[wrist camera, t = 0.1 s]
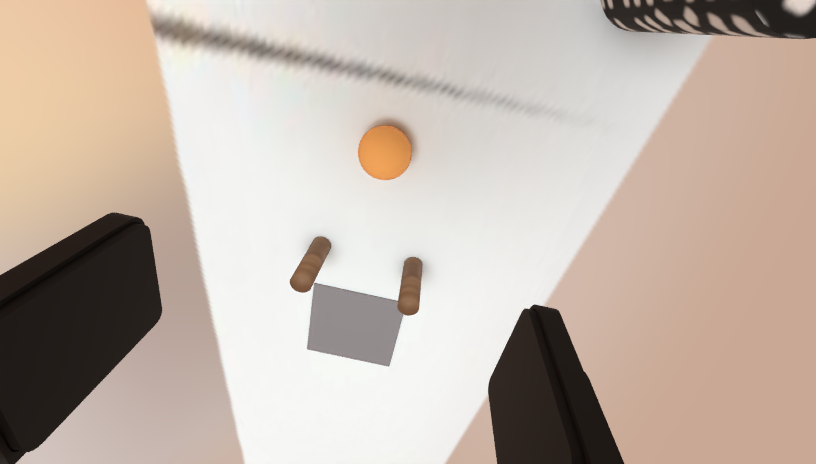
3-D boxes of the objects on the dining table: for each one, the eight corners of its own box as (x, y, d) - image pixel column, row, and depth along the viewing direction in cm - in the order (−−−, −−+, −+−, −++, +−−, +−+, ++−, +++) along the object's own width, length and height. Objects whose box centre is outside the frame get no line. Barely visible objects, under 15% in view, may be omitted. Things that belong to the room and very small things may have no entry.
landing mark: (314, 283, 56) (314, 283, 56) (406, 303, 56) (406, 303, 56) (307, 348, 63) (307, 349, 62) (389, 365, 63) (389, 366, 63)
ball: (367, 114, 43) (357, 127, 38) (418, 126, 43) (415, 140, 38) (360, 163, 46) (349, 181, 41) (407, 174, 46) (403, 193, 41)
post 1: (313, 234, 52) (290, 272, 44) (331, 239, 52) (312, 277, 44) (311, 250, 53) (289, 289, 45) (329, 254, 53) (310, 294, 45)
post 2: (406, 255, 52) (399, 296, 44) (424, 259, 52) (421, 301, 44) (402, 270, 53) (395, 312, 46) (420, 274, 53) (416, 317, 46)
